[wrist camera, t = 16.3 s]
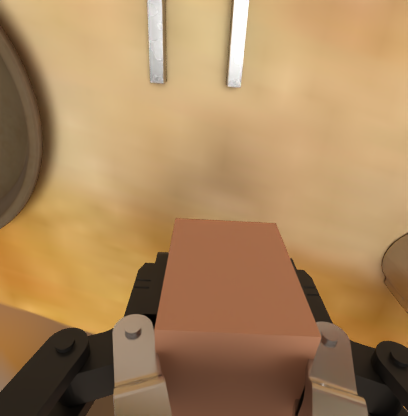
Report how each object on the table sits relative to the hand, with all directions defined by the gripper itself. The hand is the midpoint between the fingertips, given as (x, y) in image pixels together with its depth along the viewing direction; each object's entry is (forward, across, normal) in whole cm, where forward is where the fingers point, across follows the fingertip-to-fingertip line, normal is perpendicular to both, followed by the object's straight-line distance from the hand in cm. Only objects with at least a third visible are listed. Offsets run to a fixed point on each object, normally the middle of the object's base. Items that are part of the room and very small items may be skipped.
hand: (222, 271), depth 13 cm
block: (+1, 0, +2) cm, 2 cm away
